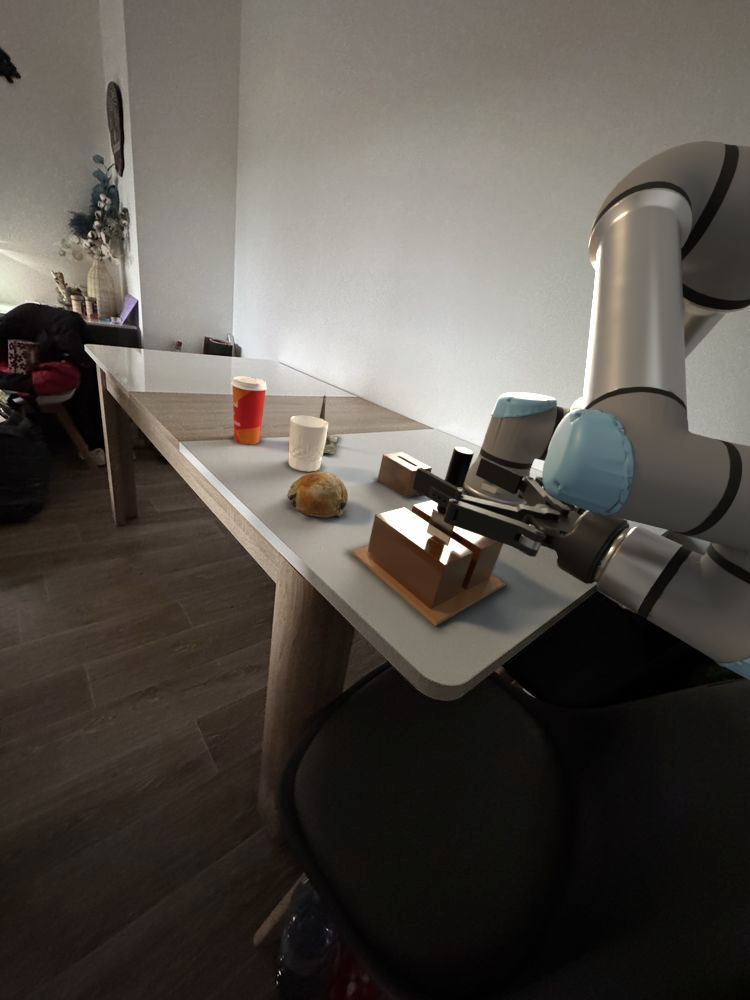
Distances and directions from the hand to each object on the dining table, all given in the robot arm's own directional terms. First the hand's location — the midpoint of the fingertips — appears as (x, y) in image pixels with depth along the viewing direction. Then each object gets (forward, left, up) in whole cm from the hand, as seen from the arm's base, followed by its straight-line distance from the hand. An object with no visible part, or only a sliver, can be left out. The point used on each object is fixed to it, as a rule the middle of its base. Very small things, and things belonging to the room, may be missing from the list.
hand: (450, 471), depth 53 cm
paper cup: (+26, -49, -16) cm, 58 cm away
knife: (0, +1, -15) cm, 15 cm away
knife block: (-6, -28, -16) cm, 33 cm away
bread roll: (+14, -18, -16) cm, 28 cm away
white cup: (+14, -36, -16) cm, 42 cm away
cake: (0, +1, -16) cm, 16 cm away
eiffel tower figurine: (+9, -51, -16) cm, 54 cm away
